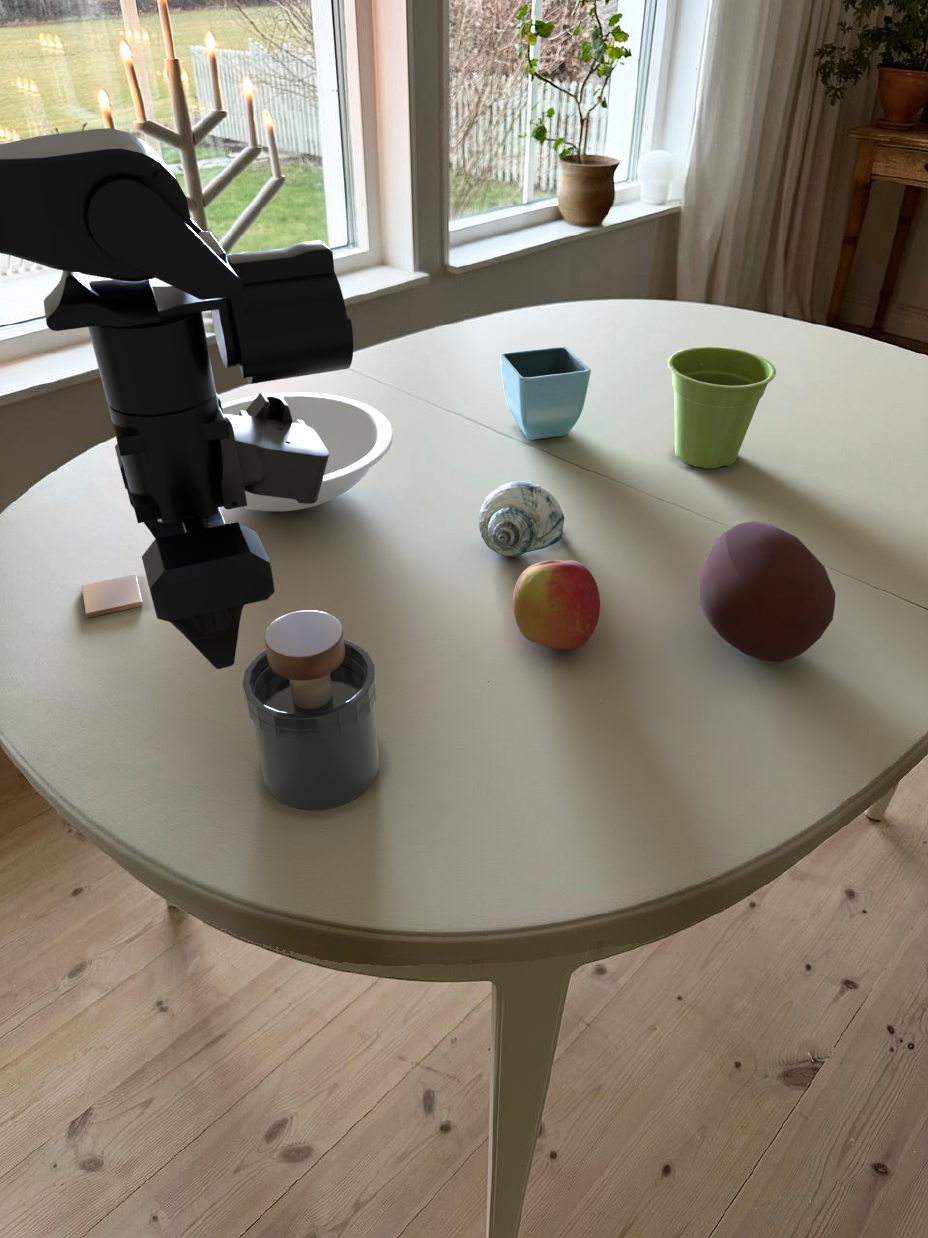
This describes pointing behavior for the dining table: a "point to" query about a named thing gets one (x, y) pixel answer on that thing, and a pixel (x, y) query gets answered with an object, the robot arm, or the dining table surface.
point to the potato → (765, 592)
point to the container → (316, 733)
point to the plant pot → (715, 401)
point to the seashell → (520, 519)
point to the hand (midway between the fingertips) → (211, 624)
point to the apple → (557, 604)
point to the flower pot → (544, 390)
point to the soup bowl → (329, 442)
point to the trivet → (111, 595)
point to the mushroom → (306, 654)
